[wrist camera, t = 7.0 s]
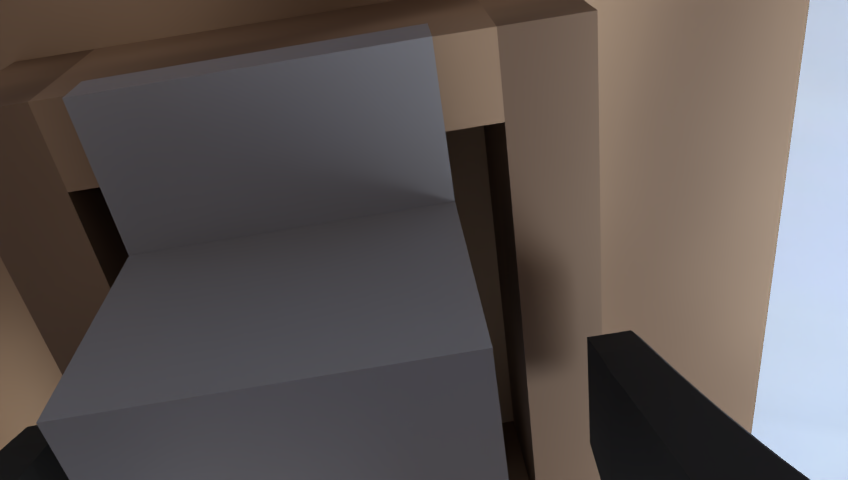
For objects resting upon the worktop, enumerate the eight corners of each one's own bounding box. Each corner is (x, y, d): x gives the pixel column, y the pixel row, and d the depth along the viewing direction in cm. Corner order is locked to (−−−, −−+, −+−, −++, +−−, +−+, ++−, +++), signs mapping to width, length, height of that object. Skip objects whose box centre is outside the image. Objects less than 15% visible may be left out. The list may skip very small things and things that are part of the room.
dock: (809, -310, 10) (1004, -374, 7) (721, 480, 18) (793, 608, 15) (-334, -125, 10) (-635, -108, 7) (97, 579, 18) (44, 727, 15)
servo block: (413, -18, 10) (482, 178, 4) (482, 459, 15) (559, 849, 9) (143, 27, 10) (-151, 284, 4) (301, 488, 15) (264, 896, 9)
